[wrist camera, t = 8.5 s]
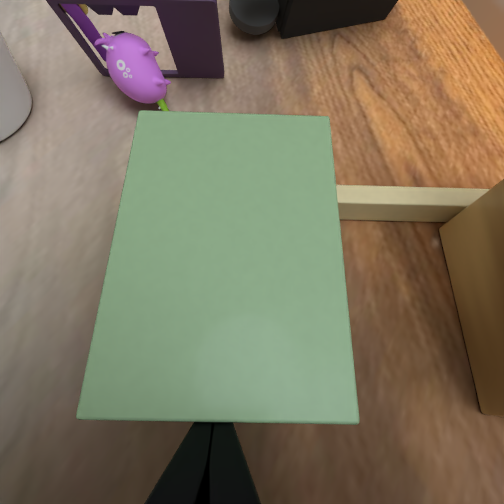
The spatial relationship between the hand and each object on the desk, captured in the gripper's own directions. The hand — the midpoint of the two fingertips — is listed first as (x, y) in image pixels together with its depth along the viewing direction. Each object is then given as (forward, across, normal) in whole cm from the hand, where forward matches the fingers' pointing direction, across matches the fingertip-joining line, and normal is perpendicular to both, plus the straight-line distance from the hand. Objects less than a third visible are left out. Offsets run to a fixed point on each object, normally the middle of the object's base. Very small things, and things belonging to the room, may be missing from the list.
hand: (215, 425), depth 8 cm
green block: (+9, 0, +1) cm, 9 cm away
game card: (+19, +5, -9) cm, 22 cm away
